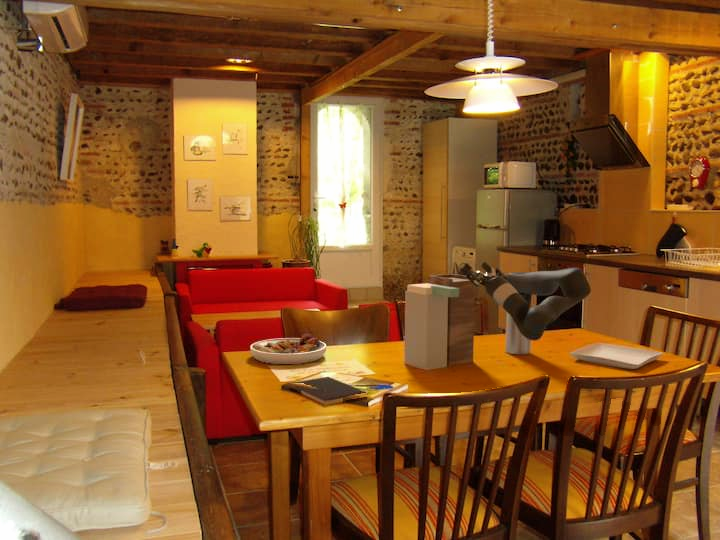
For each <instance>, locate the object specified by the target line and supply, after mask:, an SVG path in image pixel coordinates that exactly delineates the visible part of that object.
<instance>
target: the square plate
mask: <svg viewBox="0 0 720 540" xmlns="http://www.w3.org/2000/svg"><path fill="white" fill-rule="evenodd" d="M569 354H570V355H571V356H572V357H573V358H574V359H576V360H579V361H584V362H587V363H591V364H597V365H602V366H607V367H609V366H610V367H613V368H614V367H615V368H620V369H629V370H636V369H638V368H641V367H644V366H645V365H647V364H649V363H652V362H654V361H656V360H658V359H659V358H661V357H662V356H663V355H664V353H663V352H661V351H655V350H649V349H644V348H638V347H634V346H626V345H620V344H619V345H618V344H610V343H603V342H596V343H592V344H588V345H586V346H583V347H581V348H578V349H576V350H572V351H571V352H569Z"/></svg>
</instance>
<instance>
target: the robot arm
mask: <svg viewBox="0 0 720 540" xmlns="http://www.w3.org/2000/svg"><path fill="white" fill-rule="evenodd" d="M481 268H482V269H483V270H484V271H485V272H483V271H480V270H476V269H474V268H473V267H472V266H471V265H470V264H469V263H468V262H467V263H464V265H463V270H464V271H465V272H466V275H465V276H466V278H468V279H469V280H470V281H471V282H472V283H473V284H474V285H475V287H479V285H481V286H484V288H485V293H487V295H488V296H489V297H491V299H492V300H494V302H495V303H496V304H497V305H499V306H500V307H501V308H502V309H504V311H506V321H505V322H506V327H505V329H506V330H505V352H506V353H507V354H512V355H527V354H531V341H538V340H540V339H541V338H542V337H543V335H544V333H545V331H546V328H547V326H548V325H549V324H552V323H554V321H556V320H557V319H558V318H559V317H560V316H561V315H562V314H563V313H565V312H566V311H568V310H569V309H571V308H572V307H574V306H575V305H577V304H579V303H580V302H582V301H583V300H585V299H586V298H587V297H588V296H589V295H590V294H591V291H592V289H591V286H590V283H589V281H588V279H587V277H586V275H585V272H584V270H583V269H582V268H580V267H569V268H564V269H559V270H539V271H531V272H526V271H524V272H523V271H521V272H520V271H518V272H508V273H507V274H506V275H505V274H504V273H503V272H502V271H501V270H500V269H499V268H498V267H496V268H494V267H492V266H491V265H490V264H488V262H486V261H483V262H482V264H481ZM479 275H480V276H479ZM559 287H560V289H561V291H562V293H563V295H564V296H559V295H553V294H554V293H555V292H556V291H557V290H558V289H559ZM532 295H533V296H548V297H546V298H545V299H544V300H543V301H541V303H539V304H538V305H535V306H532V297H533V296H532ZM550 295H551V296H550ZM531 306H532V307H531Z"/></svg>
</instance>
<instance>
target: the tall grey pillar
mask: <svg viewBox="0 0 720 540" xmlns="http://www.w3.org/2000/svg"><path fill="white" fill-rule="evenodd" d="M404 297H405V298H404V299H405V300H404V303H405V304H404V364H405V365H409V366H410V367H411V366H412V367H415V368H418V369H421V370H425V371H430V370H435V369H442V368H447V325H448V297H446V296H440V295H434V294H429V295H425V294H419V293H413V292H408V291H407V290H405V291H404Z"/></svg>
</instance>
